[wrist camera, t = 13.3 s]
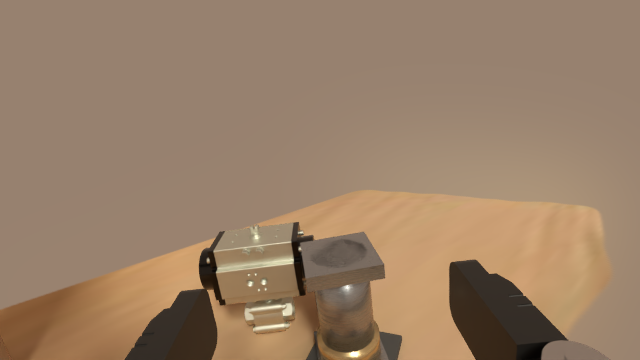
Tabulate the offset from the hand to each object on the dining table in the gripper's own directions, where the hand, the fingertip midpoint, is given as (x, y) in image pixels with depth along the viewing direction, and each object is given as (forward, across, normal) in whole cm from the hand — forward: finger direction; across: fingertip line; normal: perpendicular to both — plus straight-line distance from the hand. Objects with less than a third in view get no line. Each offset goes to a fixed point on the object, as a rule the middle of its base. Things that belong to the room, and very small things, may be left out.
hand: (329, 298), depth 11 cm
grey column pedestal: (+15, -1, +18) cm, 24 cm away
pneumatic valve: (+22, +8, +19) cm, 30 cm away
